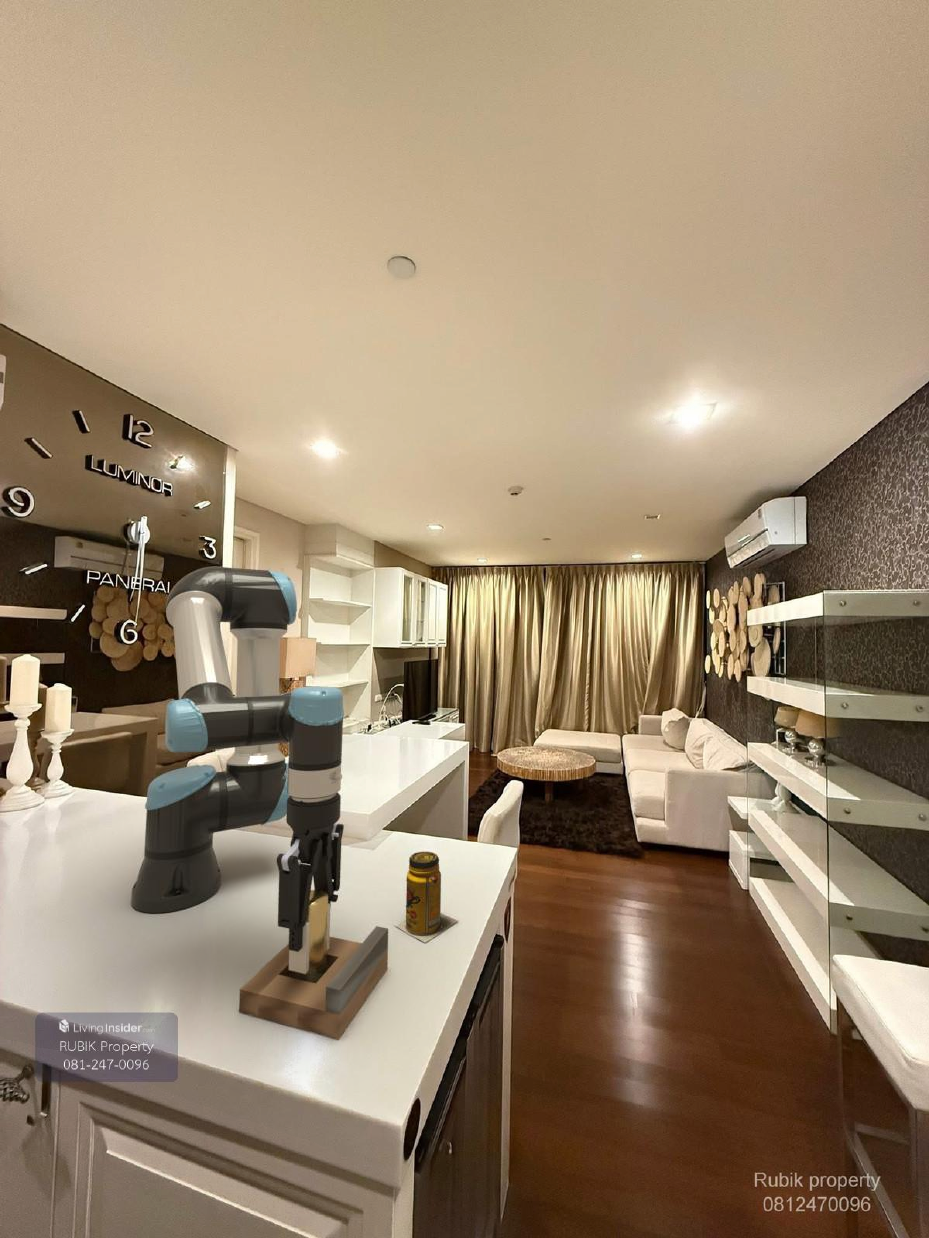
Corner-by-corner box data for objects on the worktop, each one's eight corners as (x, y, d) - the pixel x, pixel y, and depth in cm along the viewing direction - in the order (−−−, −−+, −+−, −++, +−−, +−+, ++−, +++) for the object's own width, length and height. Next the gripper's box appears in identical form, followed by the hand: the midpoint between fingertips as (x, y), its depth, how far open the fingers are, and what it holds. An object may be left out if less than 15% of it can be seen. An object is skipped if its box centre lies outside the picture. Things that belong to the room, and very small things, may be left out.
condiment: (395, 927, 86) (396, 856, 87) (429, 907, 93) (430, 842, 93) (424, 944, 82) (426, 869, 82) (458, 922, 88) (459, 853, 89)
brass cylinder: (285, 990, 70) (287, 903, 70) (304, 969, 74) (307, 887, 75) (313, 997, 68) (316, 908, 69) (331, 976, 73) (334, 892, 73)
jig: (239, 1012, 66) (240, 965, 66) (301, 949, 80) (302, 911, 80) (338, 1039, 62) (340, 989, 62) (387, 968, 75) (388, 928, 76)
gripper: (300, 817, 63) (294, 1007, 62) (366, 780, 80) (362, 929, 79) (250, 810, 65) (244, 994, 64) (325, 776, 82) (321, 921, 81)
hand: (309, 958), depth 71 cm, fingers closed on brass cylinder, 4 cm apart
